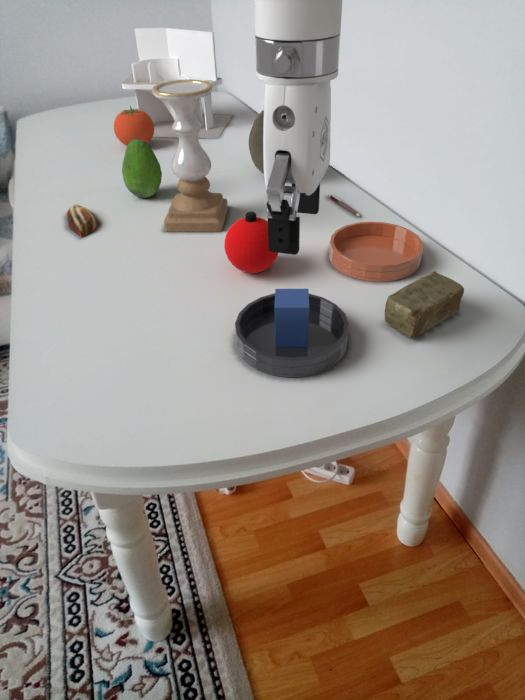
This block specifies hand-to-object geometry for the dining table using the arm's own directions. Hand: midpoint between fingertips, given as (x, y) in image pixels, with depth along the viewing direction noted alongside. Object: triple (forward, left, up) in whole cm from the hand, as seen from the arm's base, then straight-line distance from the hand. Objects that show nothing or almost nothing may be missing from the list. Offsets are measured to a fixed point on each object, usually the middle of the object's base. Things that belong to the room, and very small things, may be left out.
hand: (295, 231), depth 58 cm
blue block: (+2, -2, -18) cm, 18 cm away
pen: (+25, -40, -18) cm, 51 cm away
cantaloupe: (+46, -43, -18) cm, 66 cm away
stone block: (-7, -19, -18) cm, 27 cm away
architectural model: (+95, -49, -18) cm, 109 cm away
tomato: (+88, -31, -18) cm, 96 cm away
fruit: (+59, -15, -18) cm, 64 cm away
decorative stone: (+59, +1, -18) cm, 62 cm away
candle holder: (+42, -16, -18) cm, 49 cm away
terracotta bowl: (+8, -28, -18) cm, 34 cm away
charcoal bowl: (+2, -2, -18) cm, 18 cm away
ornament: (+20, -11, -18) cm, 30 cm away
